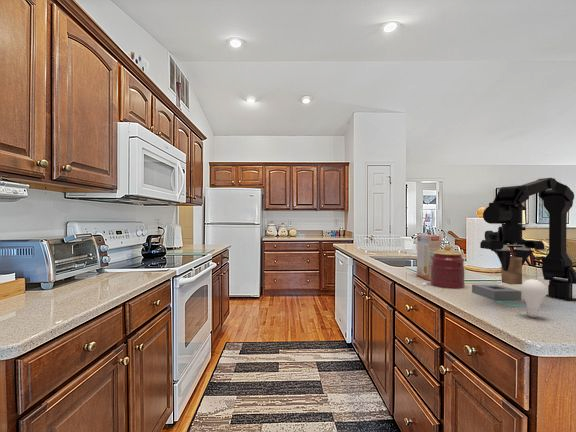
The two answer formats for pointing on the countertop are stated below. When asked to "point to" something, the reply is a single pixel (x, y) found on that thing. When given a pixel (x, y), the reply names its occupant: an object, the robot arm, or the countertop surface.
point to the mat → (511, 303)
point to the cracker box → (426, 254)
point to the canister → (447, 268)
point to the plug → (513, 271)
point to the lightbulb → (533, 295)
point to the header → (496, 292)
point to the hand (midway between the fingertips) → (511, 270)
